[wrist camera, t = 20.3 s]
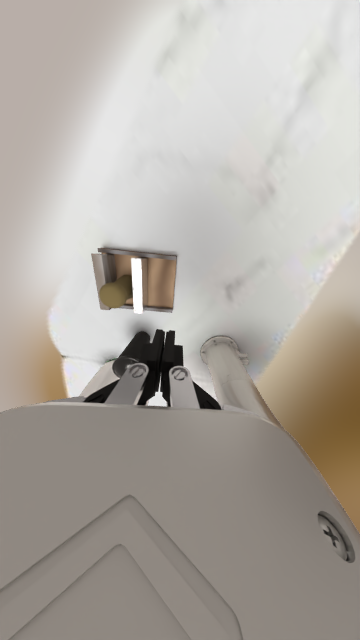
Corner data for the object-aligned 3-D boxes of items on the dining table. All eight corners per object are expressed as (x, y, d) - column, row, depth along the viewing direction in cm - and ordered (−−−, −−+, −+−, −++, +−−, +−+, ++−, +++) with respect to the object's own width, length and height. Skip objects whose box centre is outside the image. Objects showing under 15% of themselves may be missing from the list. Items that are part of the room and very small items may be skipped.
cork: (125, 300, 37) (105, 316, 28) (112, 279, 35) (86, 289, 25) (144, 292, 37) (131, 306, 27) (133, 270, 34) (114, 276, 24)
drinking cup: (131, 325, 42) (95, 378, 24) (155, 330, 43) (138, 384, 25) (130, 345, 45) (97, 404, 27) (152, 349, 46) (135, 409, 28)
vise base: (176, 256, 34) (176, 256, 27) (172, 309, 40) (171, 319, 33) (103, 248, 33) (84, 246, 26) (110, 304, 39) (97, 313, 33)
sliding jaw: (147, 258, 33) (141, 258, 27) (147, 305, 38) (142, 313, 32) (139, 257, 32) (131, 257, 27) (140, 304, 38) (134, 312, 32)
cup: (101, 360, 48) (71, 401, 35) (119, 355, 47) (96, 395, 34) (112, 374, 51) (88, 417, 38) (129, 370, 50) (111, 412, 37)
